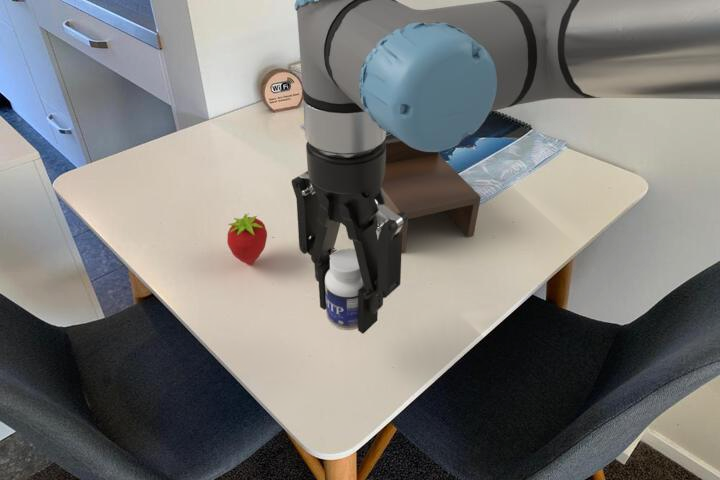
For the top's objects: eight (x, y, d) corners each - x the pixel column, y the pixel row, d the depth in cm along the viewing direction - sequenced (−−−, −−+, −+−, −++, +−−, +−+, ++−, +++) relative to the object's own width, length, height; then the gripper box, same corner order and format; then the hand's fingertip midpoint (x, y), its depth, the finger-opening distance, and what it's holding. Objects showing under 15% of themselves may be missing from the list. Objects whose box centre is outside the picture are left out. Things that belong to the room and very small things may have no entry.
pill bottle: (318, 310, 64) (314, 254, 58) (354, 294, 66) (354, 239, 60) (341, 338, 60) (339, 281, 55) (378, 320, 62) (380, 264, 57)
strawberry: (274, 248, 86) (268, 198, 80) (265, 280, 80) (258, 228, 74) (238, 247, 86) (229, 197, 80) (227, 278, 80) (216, 227, 74)
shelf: (473, 235, 89) (485, 175, 82) (399, 254, 85) (403, 192, 78) (431, 187, 101) (437, 130, 93) (363, 201, 97) (364, 143, 89)
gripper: (452, 155, 46) (429, 332, 61) (303, 101, 55) (314, 266, 70) (403, 190, 42) (390, 372, 56) (249, 125, 51) (272, 296, 65)
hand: (348, 313), depth 63 cm, fingers closed on pill bottle, 5 cm apart
